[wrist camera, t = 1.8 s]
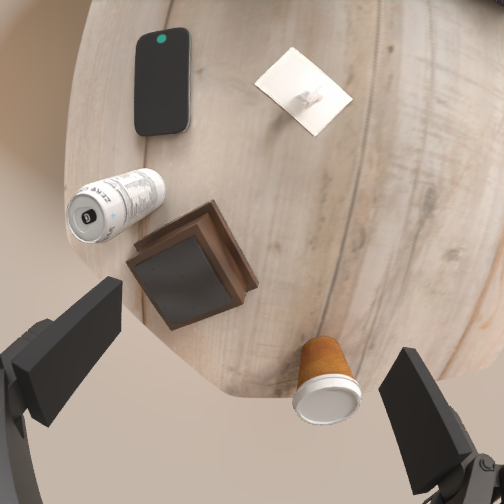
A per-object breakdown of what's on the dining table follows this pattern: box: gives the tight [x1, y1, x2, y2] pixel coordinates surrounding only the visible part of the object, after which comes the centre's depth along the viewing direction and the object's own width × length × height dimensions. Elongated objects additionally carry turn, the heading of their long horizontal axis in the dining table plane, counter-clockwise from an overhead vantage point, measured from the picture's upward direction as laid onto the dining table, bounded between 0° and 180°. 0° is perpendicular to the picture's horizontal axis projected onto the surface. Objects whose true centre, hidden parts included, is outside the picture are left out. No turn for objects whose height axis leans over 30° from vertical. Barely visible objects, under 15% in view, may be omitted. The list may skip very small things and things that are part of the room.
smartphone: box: [134, 28, 191, 136], centre depth 32 cm, size 8×1×15 cm
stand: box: [126, 200, 259, 331], centre depth 38 cm, size 13×13×7 cm
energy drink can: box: [66, 169, 166, 243], centre depth 31 cm, size 6×6×15 cm
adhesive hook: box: [294, 84, 325, 110], centre depth 31 cm, size 3×3×3 cm
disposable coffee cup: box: [292, 336, 362, 425], centre depth 40 cm, size 10×10×12 cm
